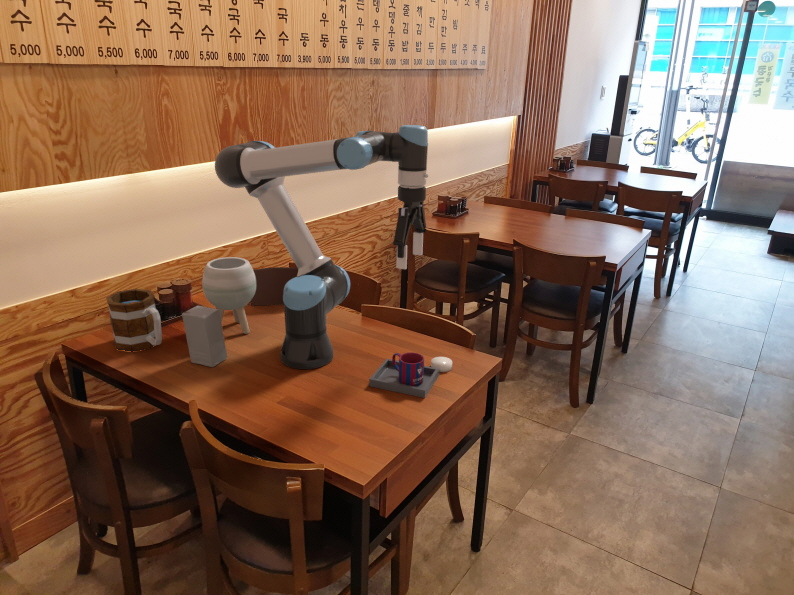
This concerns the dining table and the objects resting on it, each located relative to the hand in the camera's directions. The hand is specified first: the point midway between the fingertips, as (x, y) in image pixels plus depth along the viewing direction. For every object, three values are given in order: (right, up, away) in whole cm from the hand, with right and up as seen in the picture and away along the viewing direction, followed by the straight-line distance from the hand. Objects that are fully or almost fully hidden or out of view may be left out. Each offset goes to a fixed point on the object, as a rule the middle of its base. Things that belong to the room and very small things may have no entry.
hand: (409, 261), depth 163 cm
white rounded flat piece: (+9, -30, +3) cm, 32 cm away
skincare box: (-58, -29, +3) cm, 65 cm away
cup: (-1, -32, -5) cm, 33 cm away
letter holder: (-46, -11, +48) cm, 67 cm away
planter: (-56, -21, +24) cm, 64 cm away
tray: (-2, -33, -5) cm, 33 cm away
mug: (-80, -25, +12) cm, 84 cm away
